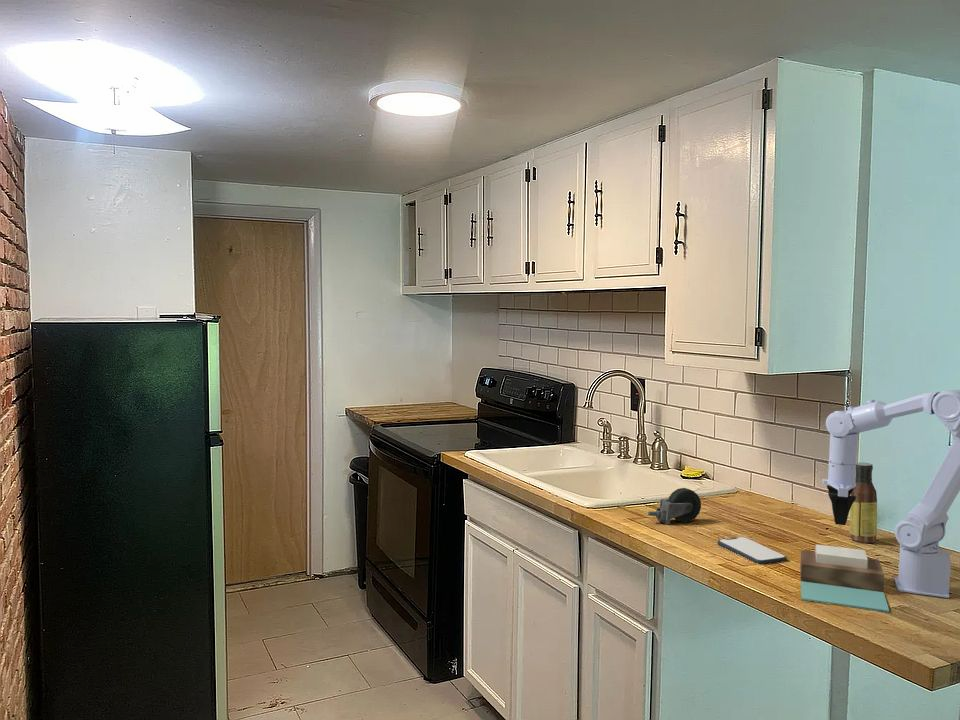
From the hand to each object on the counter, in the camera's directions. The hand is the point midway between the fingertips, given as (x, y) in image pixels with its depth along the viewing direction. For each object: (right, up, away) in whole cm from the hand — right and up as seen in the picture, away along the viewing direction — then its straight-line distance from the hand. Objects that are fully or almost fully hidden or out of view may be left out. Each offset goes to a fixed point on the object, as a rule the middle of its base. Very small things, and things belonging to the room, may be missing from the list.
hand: (839, 520), depth 181 cm
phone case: (-17, -10, +9) cm, 22 cm away
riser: (-4, -11, -9) cm, 15 cm away
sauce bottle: (+15, -9, +20) cm, 26 cm away
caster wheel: (-30, -8, +34) cm, 46 cm away
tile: (-4, -7, -9) cm, 12 cm away
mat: (-8, -12, -19) cm, 24 cm away
